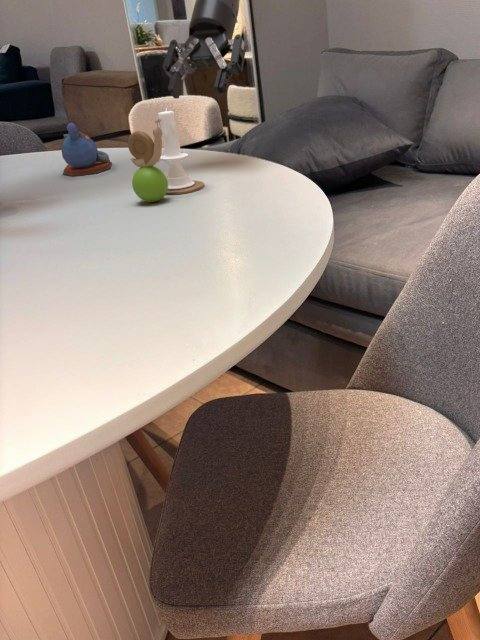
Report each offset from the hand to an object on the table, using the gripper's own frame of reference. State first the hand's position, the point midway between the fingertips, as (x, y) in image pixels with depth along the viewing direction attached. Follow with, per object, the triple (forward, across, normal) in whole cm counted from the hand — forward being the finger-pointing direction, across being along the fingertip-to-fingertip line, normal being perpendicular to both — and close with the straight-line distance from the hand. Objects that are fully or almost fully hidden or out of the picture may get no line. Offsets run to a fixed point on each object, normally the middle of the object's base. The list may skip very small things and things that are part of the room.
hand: (195, 94), depth 109 cm
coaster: (+17, 0, +2) cm, 17 cm away
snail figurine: (+23, 0, -4) cm, 23 cm away
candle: (+17, 0, +2) cm, 17 cm away
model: (+6, -29, +12) cm, 32 cm away
